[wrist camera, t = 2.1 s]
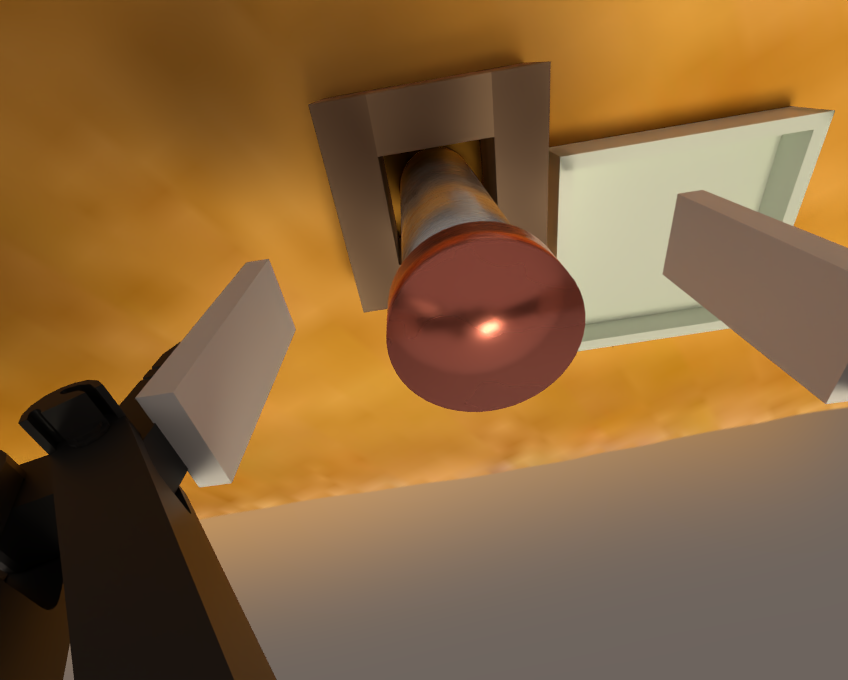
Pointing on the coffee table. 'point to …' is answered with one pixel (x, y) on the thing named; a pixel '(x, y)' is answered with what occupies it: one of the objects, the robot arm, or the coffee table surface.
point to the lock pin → (475, 295)
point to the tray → (666, 210)
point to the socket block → (425, 128)
